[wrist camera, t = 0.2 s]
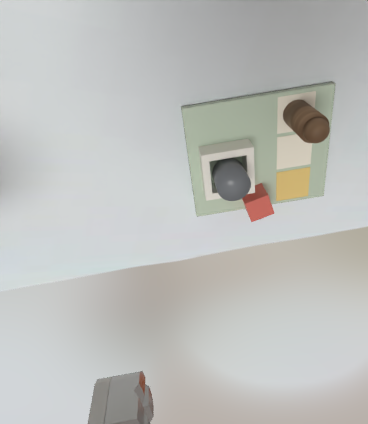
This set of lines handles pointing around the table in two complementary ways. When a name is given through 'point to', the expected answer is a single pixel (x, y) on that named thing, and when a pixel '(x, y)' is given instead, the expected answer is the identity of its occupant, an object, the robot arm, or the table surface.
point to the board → (261, 144)
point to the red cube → (258, 203)
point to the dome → (231, 179)
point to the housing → (224, 152)
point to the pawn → (306, 121)
